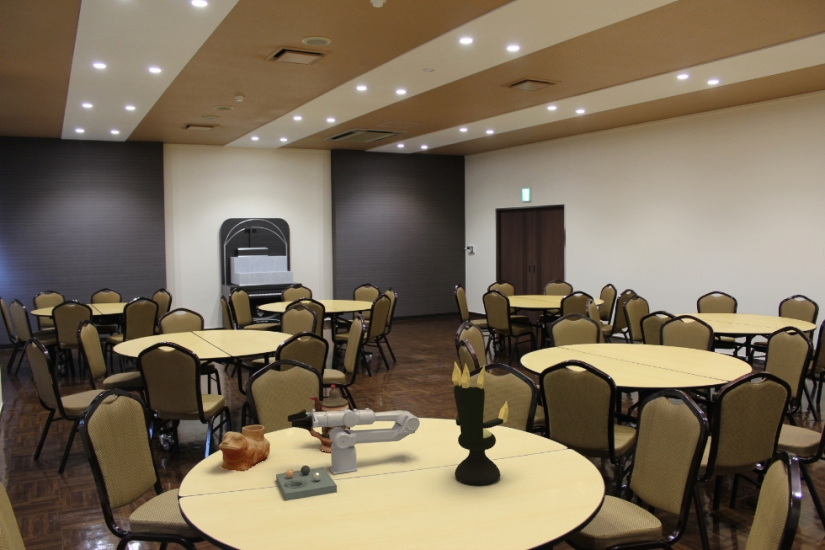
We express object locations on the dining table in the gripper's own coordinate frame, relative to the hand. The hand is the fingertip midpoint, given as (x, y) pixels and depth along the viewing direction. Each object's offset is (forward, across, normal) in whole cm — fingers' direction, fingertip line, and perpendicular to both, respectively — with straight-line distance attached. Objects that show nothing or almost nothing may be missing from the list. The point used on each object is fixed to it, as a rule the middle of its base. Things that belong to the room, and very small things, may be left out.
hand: (289, 421), depth 244 cm
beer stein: (-25, -28, +20) cm, 43 cm away
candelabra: (-63, +32, +17) cm, 73 cm away
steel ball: (-8, +14, +17) cm, 23 cm away
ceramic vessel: (+13, -24, +23) cm, 35 cm away
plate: (-5, +11, +21) cm, 24 cm away
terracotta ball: (+1, +7, +18) cm, 19 cm away
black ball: (-5, +6, +17) cm, 19 cm away
